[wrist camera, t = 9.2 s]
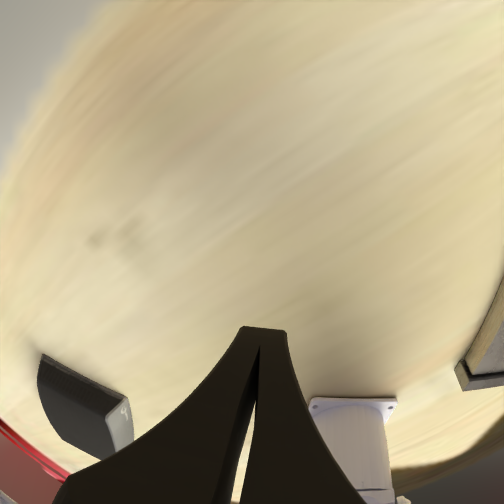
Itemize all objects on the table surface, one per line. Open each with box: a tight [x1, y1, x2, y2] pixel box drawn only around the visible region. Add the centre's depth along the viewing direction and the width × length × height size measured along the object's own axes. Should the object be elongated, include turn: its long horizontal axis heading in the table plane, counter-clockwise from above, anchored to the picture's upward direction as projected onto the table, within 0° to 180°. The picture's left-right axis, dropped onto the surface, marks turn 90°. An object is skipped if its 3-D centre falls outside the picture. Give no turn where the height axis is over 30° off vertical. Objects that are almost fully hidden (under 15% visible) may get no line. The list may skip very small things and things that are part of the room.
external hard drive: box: [37, 354, 134, 460], centre depth 31 cm, size 13×19×4 cm
